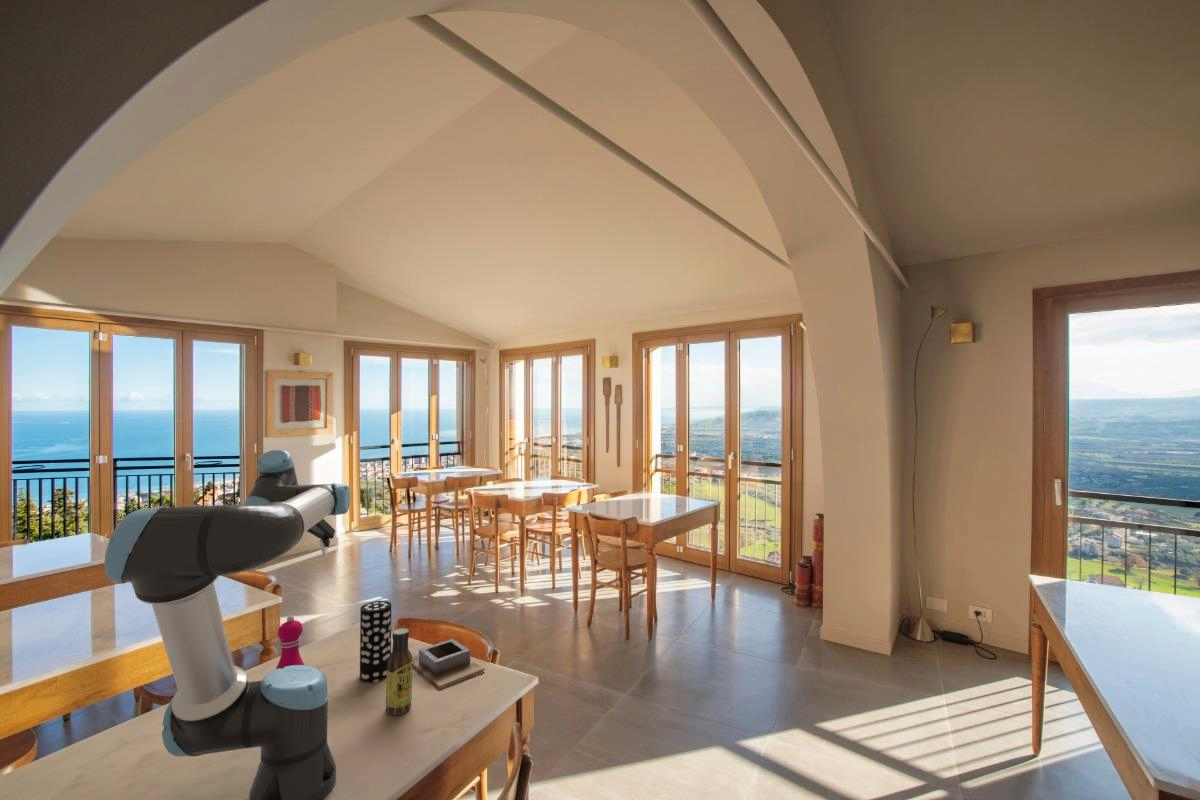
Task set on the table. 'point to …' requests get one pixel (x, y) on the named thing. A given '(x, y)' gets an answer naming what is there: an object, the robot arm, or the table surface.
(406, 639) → the sauce bottle
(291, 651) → the pepper mill
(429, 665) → the bottle socket
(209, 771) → the table surface
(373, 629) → the spotted tube
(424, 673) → the caddy board
